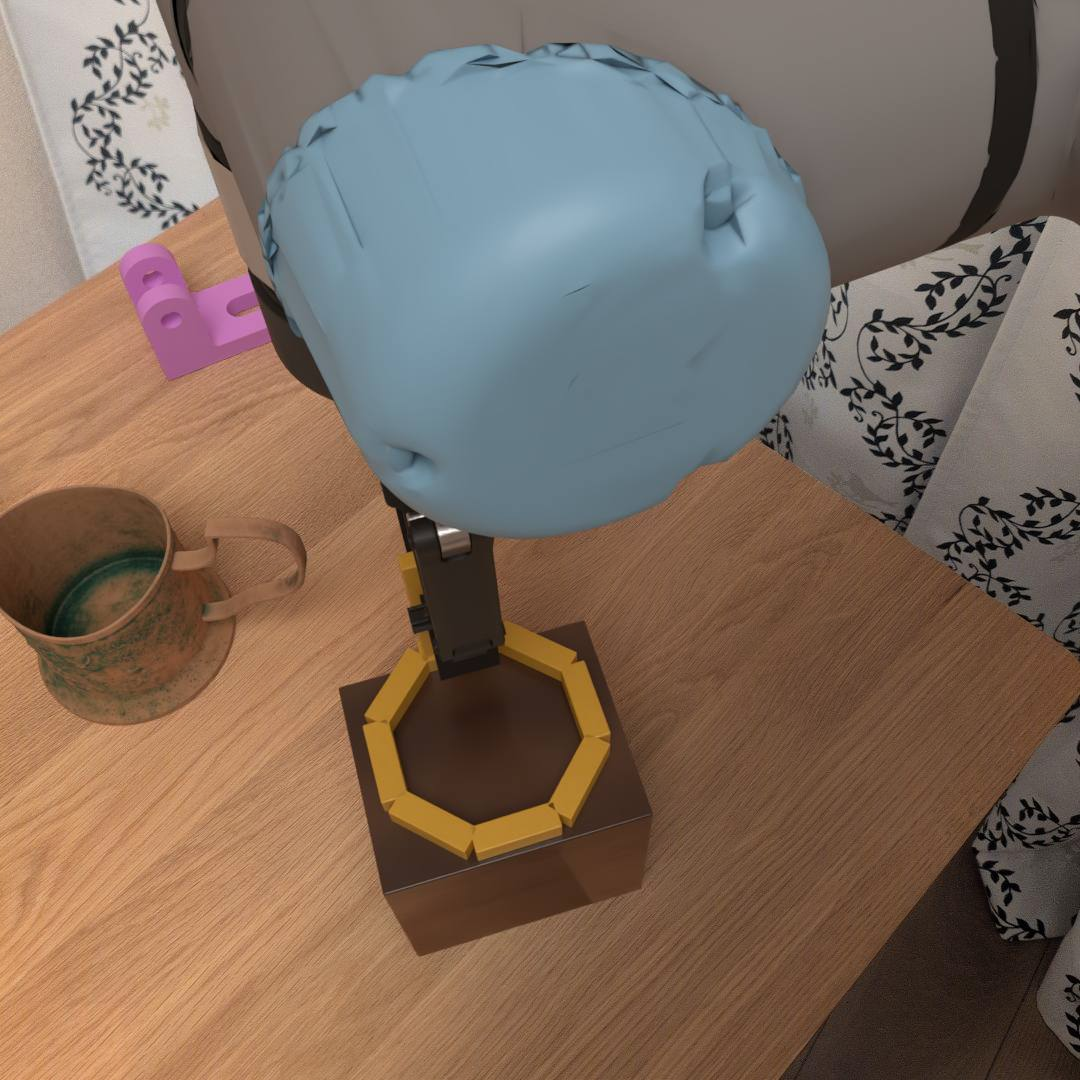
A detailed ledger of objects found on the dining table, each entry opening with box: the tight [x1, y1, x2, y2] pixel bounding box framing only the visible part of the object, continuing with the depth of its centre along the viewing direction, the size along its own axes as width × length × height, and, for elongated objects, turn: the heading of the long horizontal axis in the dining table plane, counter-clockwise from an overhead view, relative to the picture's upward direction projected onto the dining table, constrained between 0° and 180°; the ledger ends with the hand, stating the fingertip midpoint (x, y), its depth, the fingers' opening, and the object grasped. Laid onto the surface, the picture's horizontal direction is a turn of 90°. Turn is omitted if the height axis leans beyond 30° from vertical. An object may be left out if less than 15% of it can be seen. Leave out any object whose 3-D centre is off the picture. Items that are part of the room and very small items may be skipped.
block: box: [338, 619, 654, 957], centre depth 57 cm, size 10×12×12 cm
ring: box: [363, 551, 611, 861], centre depth 48 cm, size 10×10×9 cm
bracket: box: [118, 243, 272, 382], centre depth 79 cm, size 13×6×7 cm, turn 117°
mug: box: [0, 483, 308, 727], centre depth 64 cm, size 12×18×12 cm, turn 90°
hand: (454, 614), depth 52 cm, fingers open, 4 cm apart
